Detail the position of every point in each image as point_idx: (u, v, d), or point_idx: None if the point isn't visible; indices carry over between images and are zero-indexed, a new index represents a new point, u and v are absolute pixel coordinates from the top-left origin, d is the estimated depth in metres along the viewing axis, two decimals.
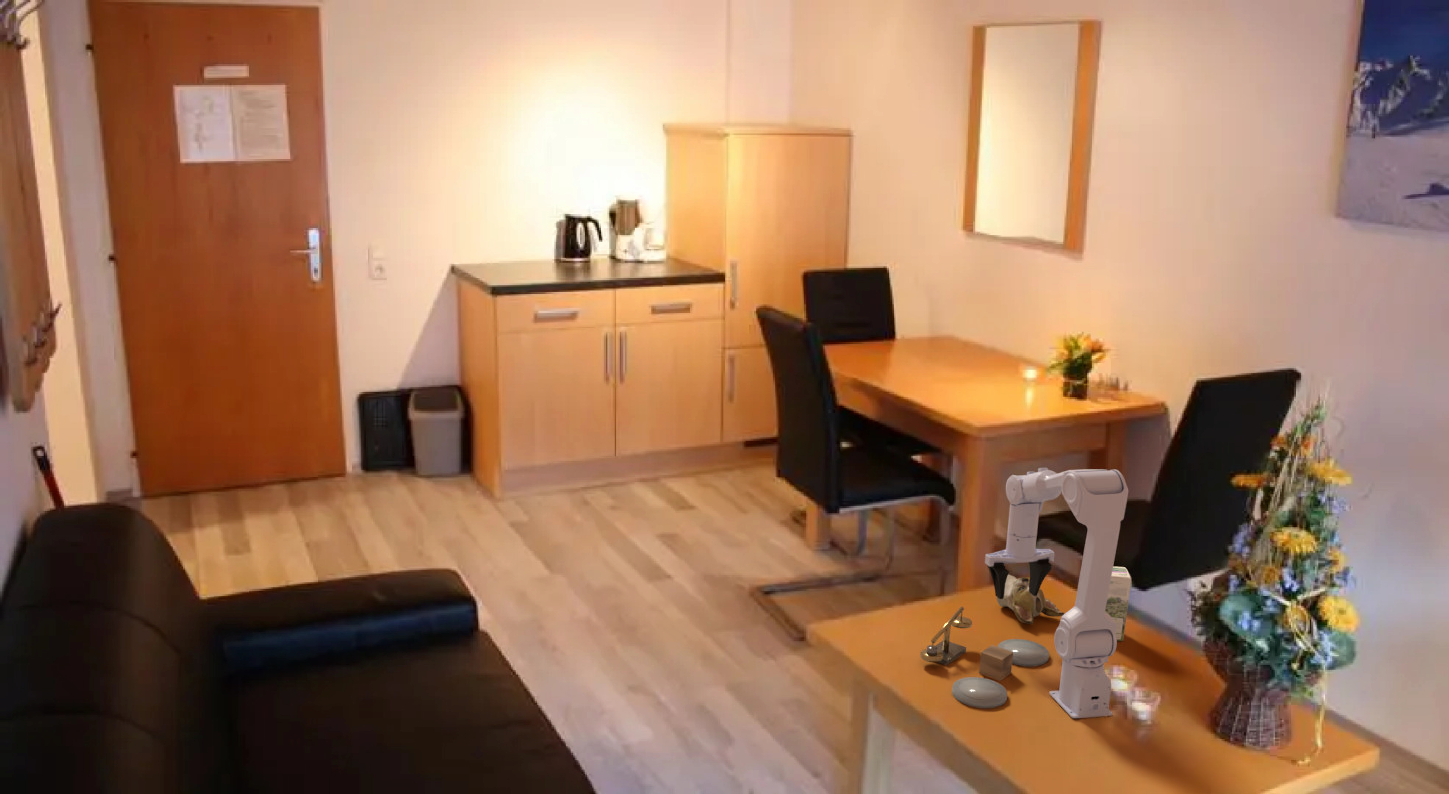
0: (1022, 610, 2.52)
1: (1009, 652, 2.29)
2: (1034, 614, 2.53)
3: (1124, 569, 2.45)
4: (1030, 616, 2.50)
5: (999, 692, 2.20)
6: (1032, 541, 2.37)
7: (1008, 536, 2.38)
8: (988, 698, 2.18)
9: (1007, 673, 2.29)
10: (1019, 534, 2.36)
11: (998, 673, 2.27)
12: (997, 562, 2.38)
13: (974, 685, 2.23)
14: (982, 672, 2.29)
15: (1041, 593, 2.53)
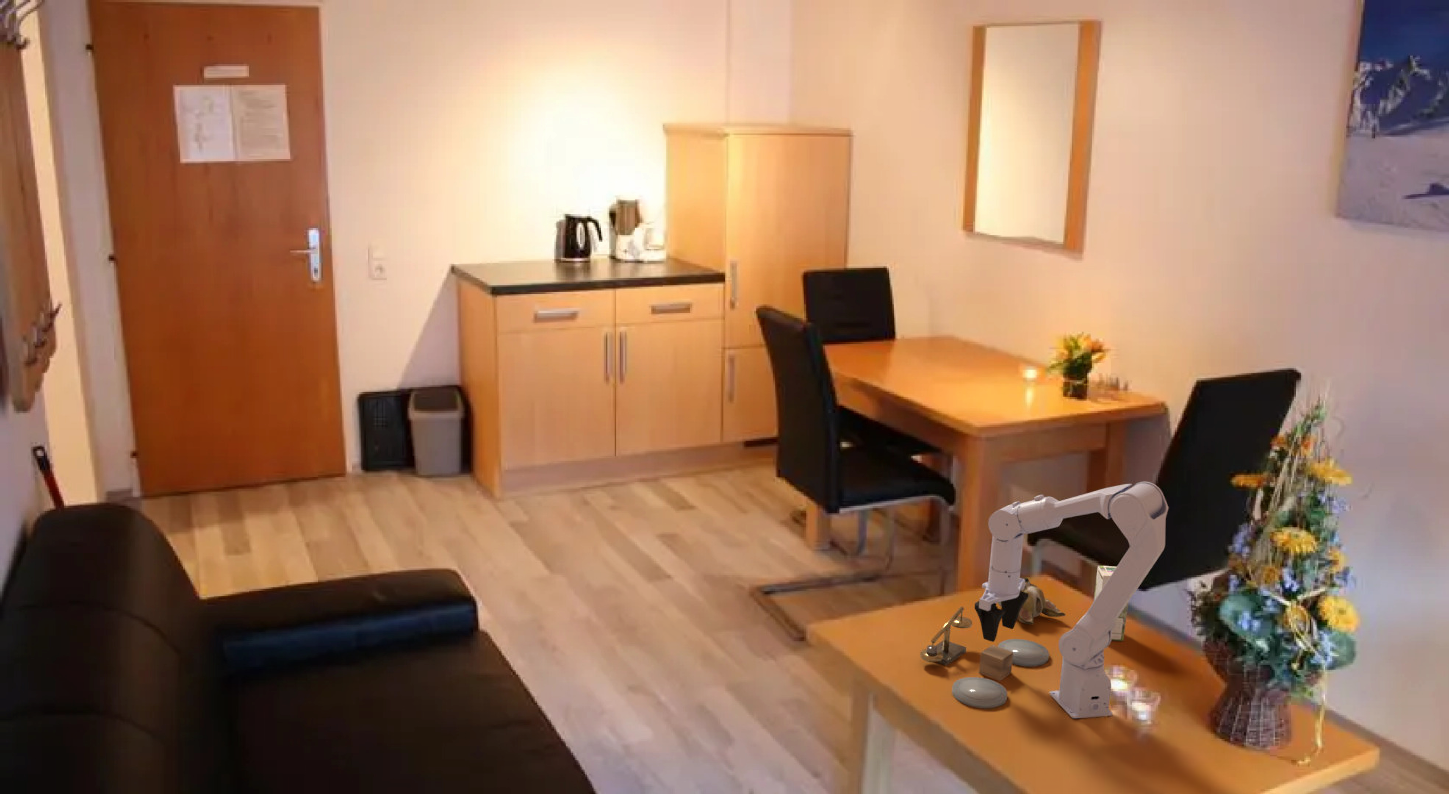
0: (1022, 611, 2.52)
1: (1009, 652, 2.29)
2: (1034, 614, 2.53)
3: None
4: (1031, 616, 2.50)
5: (999, 692, 2.20)
6: (1019, 574, 2.24)
7: (995, 574, 2.23)
8: (988, 698, 2.18)
9: (1007, 673, 2.29)
10: (1011, 570, 2.22)
11: (998, 673, 2.27)
12: (990, 604, 2.22)
13: (974, 685, 2.23)
14: (982, 672, 2.29)
15: (1041, 593, 2.53)
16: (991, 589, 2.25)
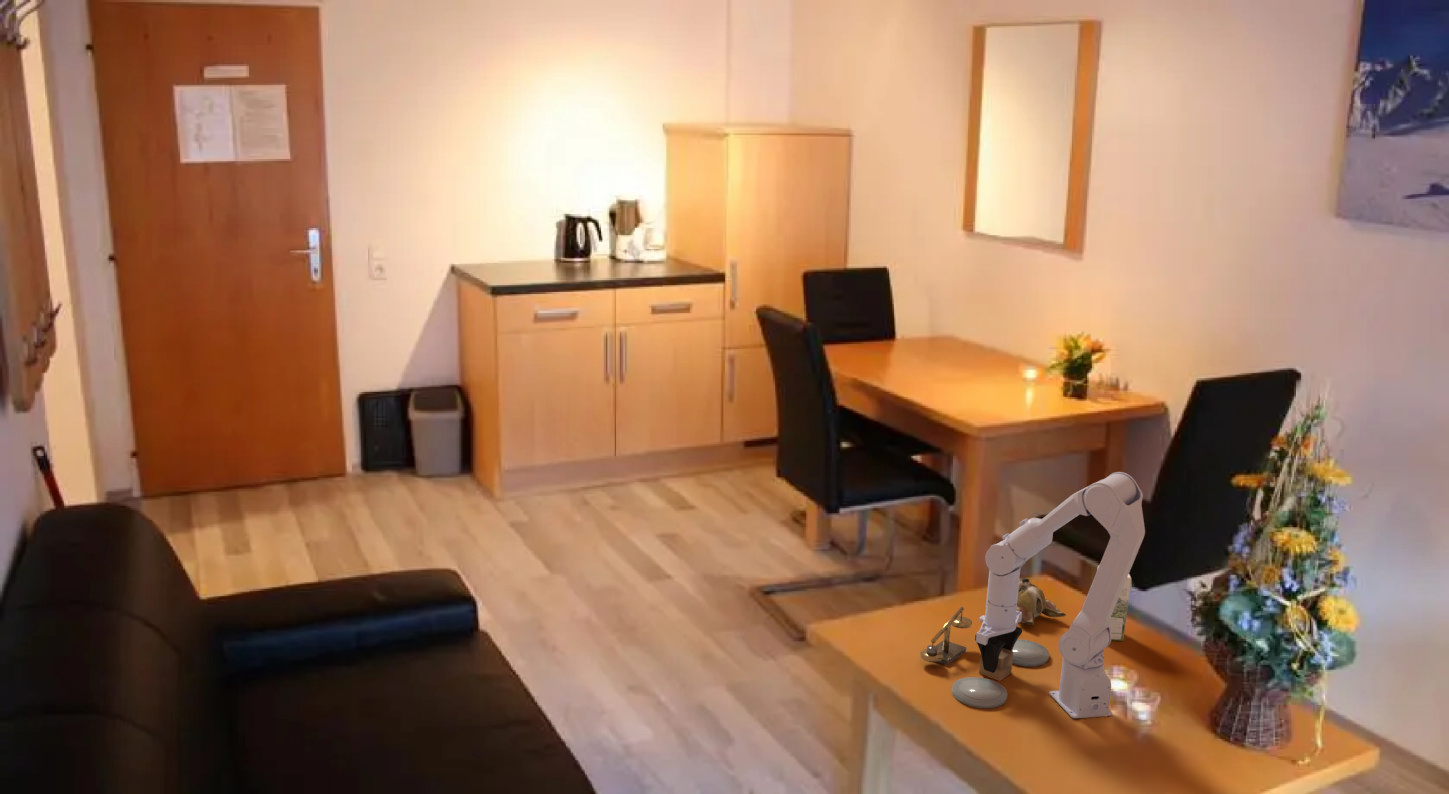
0: (1022, 611, 2.52)
1: (1009, 651, 2.29)
2: (1035, 615, 2.53)
3: None
4: (1031, 616, 2.50)
5: (999, 692, 2.20)
6: (1016, 608, 2.26)
7: (992, 608, 2.25)
8: (988, 698, 2.18)
9: (1007, 672, 2.29)
10: (1008, 604, 2.24)
11: (998, 673, 2.27)
12: (987, 638, 2.24)
13: (974, 685, 2.23)
14: (982, 671, 2.29)
15: (1041, 594, 2.53)
16: (988, 623, 2.26)
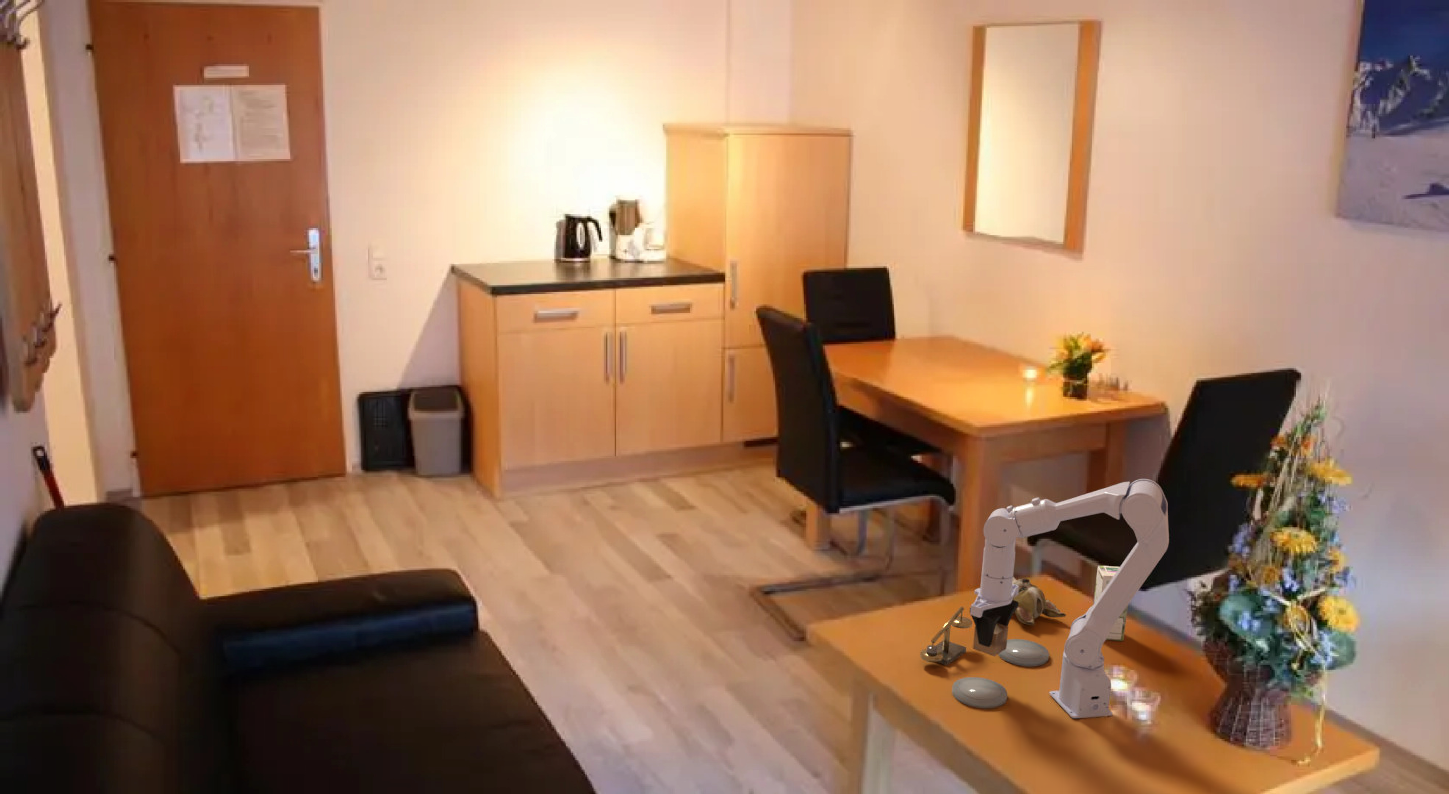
0: (1023, 611, 2.52)
1: (1004, 627, 2.23)
2: (1035, 615, 2.52)
3: None
4: (1032, 617, 2.50)
5: (999, 692, 2.20)
6: (1012, 580, 2.19)
7: (987, 580, 2.19)
8: (988, 698, 2.18)
9: (1002, 648, 2.23)
10: (1008, 575, 2.18)
11: (992, 648, 2.21)
12: None
13: (974, 685, 2.23)
14: (976, 647, 2.23)
15: (1042, 594, 2.53)
16: (983, 595, 2.20)
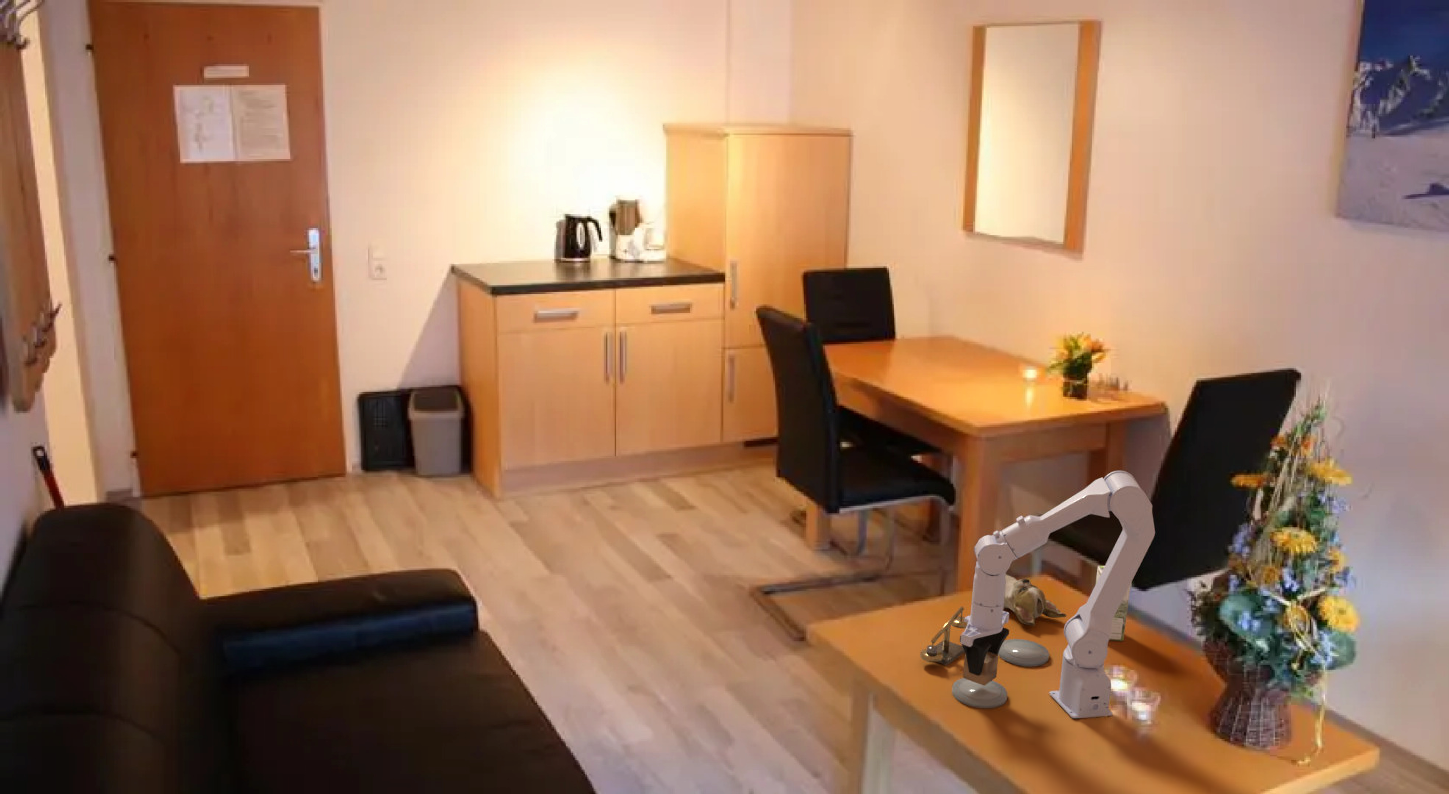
0: (1023, 612, 2.52)
1: (994, 655, 2.20)
2: (1035, 615, 2.52)
3: None
4: (1032, 617, 2.50)
5: (999, 692, 2.20)
6: (1002, 608, 2.16)
7: (978, 608, 2.15)
8: (988, 698, 2.18)
9: (992, 677, 2.20)
10: (1001, 603, 2.15)
11: (982, 677, 2.18)
12: (972, 640, 2.14)
13: (974, 685, 2.23)
14: (966, 676, 2.20)
15: (1042, 594, 2.53)
16: (973, 623, 2.17)
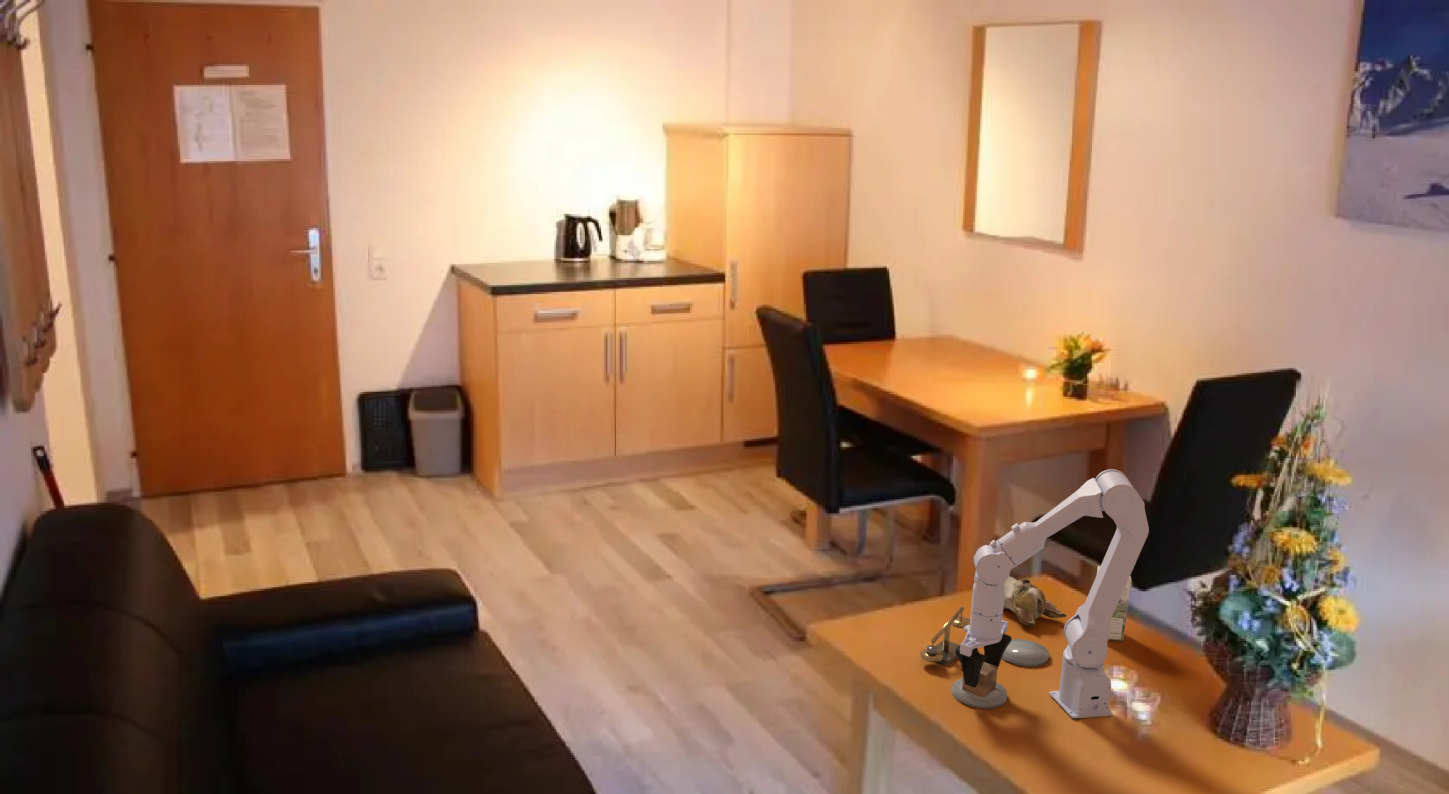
0: (1023, 612, 2.51)
1: (993, 667, 2.20)
2: (1035, 616, 2.52)
3: None
4: (1032, 617, 2.50)
5: (999, 692, 2.20)
6: None
7: (977, 618, 2.16)
8: (988, 698, 2.18)
9: (991, 689, 2.20)
10: (1000, 612, 2.15)
11: (982, 689, 2.18)
12: (972, 649, 2.15)
13: None
14: (965, 688, 2.21)
15: (1042, 594, 2.53)
16: (973, 633, 2.17)
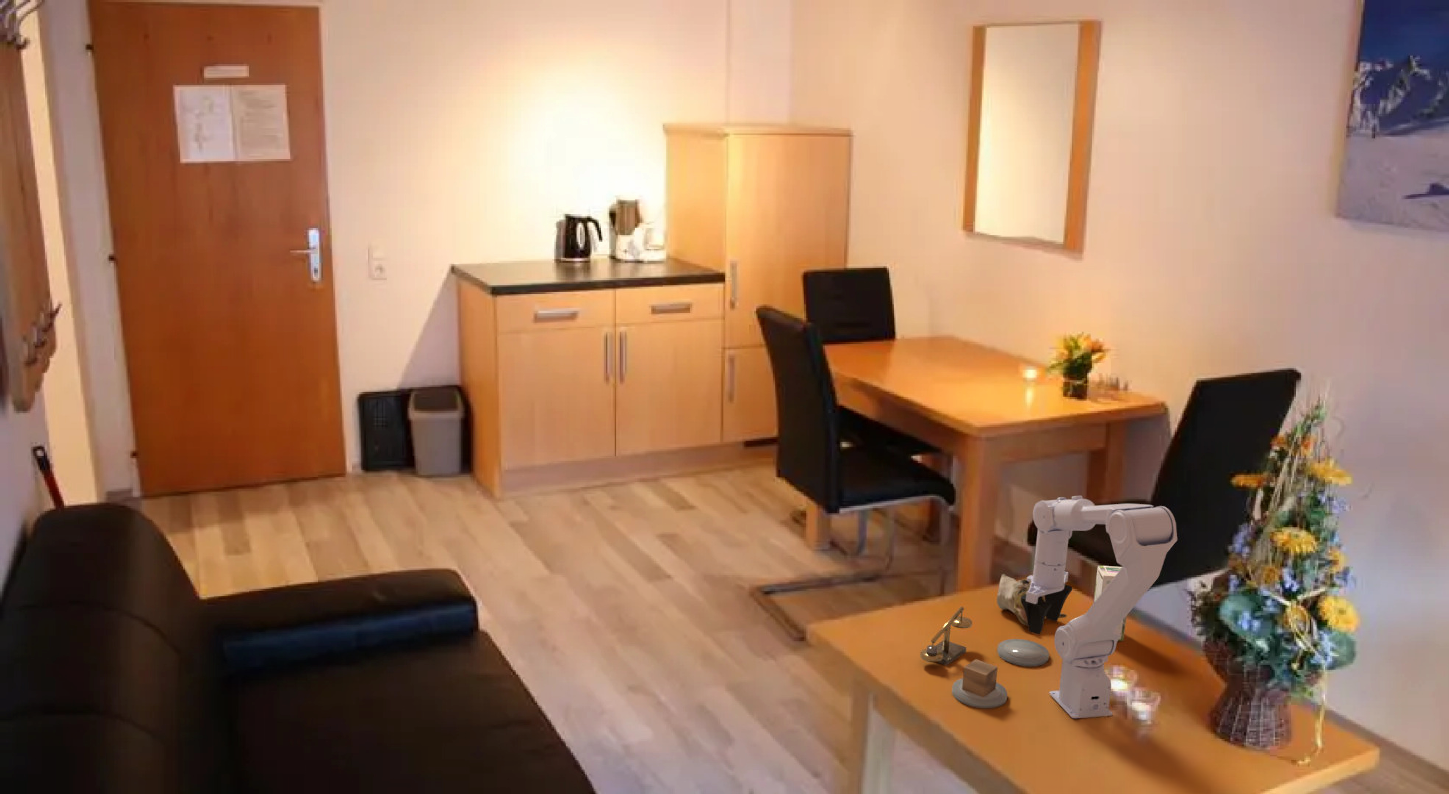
0: (1023, 613, 2.51)
1: (993, 667, 2.20)
2: None
3: None
4: None
5: (999, 692, 2.20)
6: None
7: (1041, 567, 2.24)
8: (988, 698, 2.18)
9: (991, 689, 2.20)
10: (1049, 562, 2.23)
11: (982, 689, 2.18)
12: None
13: None
14: (965, 688, 2.21)
15: None
16: (1037, 582, 2.25)
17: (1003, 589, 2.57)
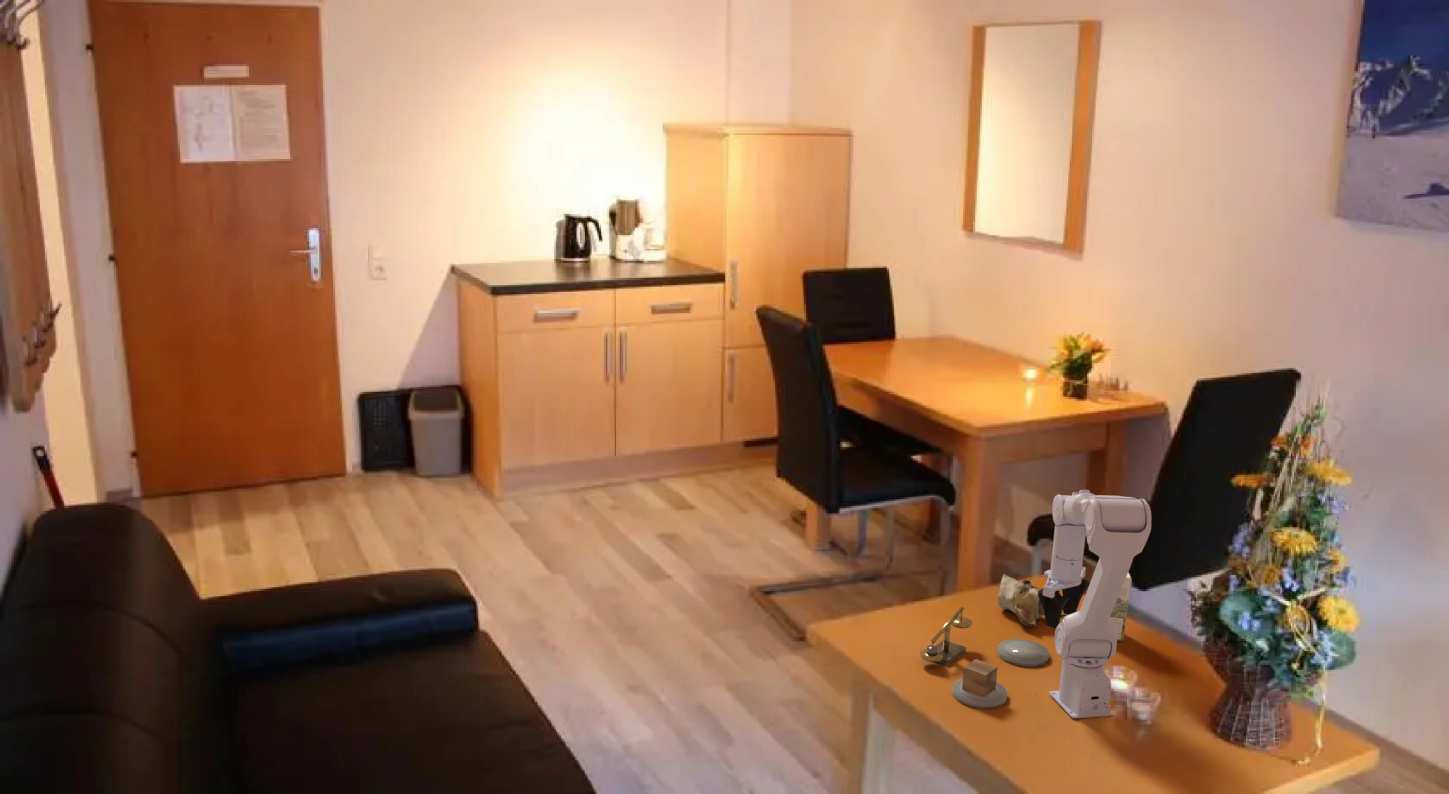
0: (1024, 613, 2.51)
1: (993, 667, 2.20)
2: (1036, 616, 2.52)
3: None
4: (1033, 618, 2.49)
5: (999, 692, 2.20)
6: None
7: (1059, 562, 2.27)
8: (988, 698, 2.18)
9: (991, 689, 2.20)
10: (1061, 556, 2.26)
11: (982, 689, 2.18)
12: None
13: None
14: (965, 688, 2.21)
15: None
16: (1054, 577, 2.28)
17: (1004, 590, 2.57)
